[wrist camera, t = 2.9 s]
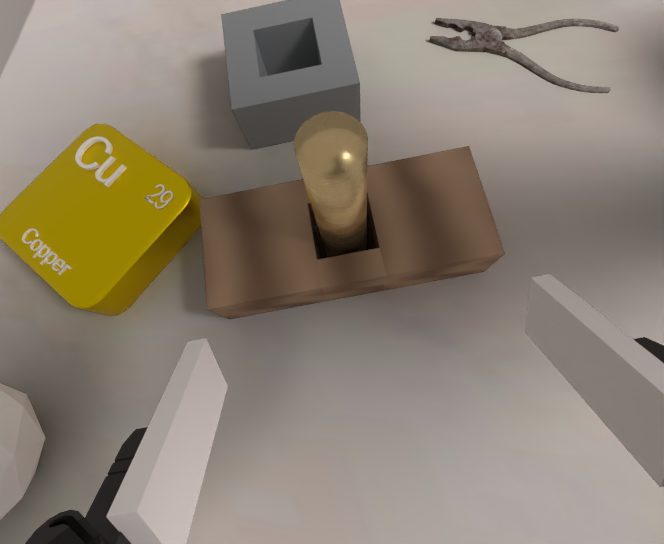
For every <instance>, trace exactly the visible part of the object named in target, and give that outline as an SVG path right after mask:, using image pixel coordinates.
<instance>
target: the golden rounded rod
mask: <svg viewBox="0 0 664 544" xmlns="http://www.w3.org/2000/svg"><path fill="white" fill-rule="evenodd" d="M294 150H295V154H296V157H297V161H298V164H299V167H300V170H301V174H302V177H303V180H304V183H305V186H306V190H307V193H308V196H309V199H310V203H311V206H312V209H313V212H314V215H315V219H316V222H317V225H318V228H319V232H320V235H321V238H322V241H323V244H324V248H325V251H326V254H327V256H328V257H334V256H339V255H344V254H350V253H355V252H360V251H365V250H366V232H367V155H368V138H367V133H366V130H365V128H364V127H363V125H362V124H361V123H360V122H359V121H358V120H357V119H356V118H355V117H353V116H351V115H349V114H347V113H343V112H338V111H329V112H323V113H320V114H317V115H315V116H313V117H311V118H309V119H308V120H307V121H305V122H304V123H303V124H302V126H301V127H300V128H299V130H298V131H297V133H296V136H295V140H294Z"/></svg>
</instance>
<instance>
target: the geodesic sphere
mask: <svg viewBox="0 0 664 544" xmlns="http://www.w3.org/2000/svg"><path fill="white" fill-rule="evenodd" d="M44 441H45V435H44V433H43V431H42V428H41V426H40V424H39V421H38V419H37V417H36V414H35V412H34V410H33V407H32V405H31V403H30V400H29V398H28V396H27V394H25V393H22V392H20V391H18V390H15V389H13V388H10V387H8V386H6V385H3V384H1V383H0V520H1V519H2V518H3V517H4V516H5V515H6V514H7V513H8V512H9V511H10V510H11V509H12V508H13V507H14V506H15V505H16V504H17V503H18V502H19V501H20V500H21V499H22V498H23V496H24V494H25V492H26V490H27V488H28V486H29V484H30V482H31V480H32V479H33V477H34V475H35V472H36V468H37V465H38V462H39V458H40V455H41V451H42V448H43V445H44Z"/></svg>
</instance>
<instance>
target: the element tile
mask: <svg viewBox="0 0 664 544" xmlns="http://www.w3.org/2000/svg"><path fill="white" fill-rule="evenodd" d="M201 199H203V198H202V197H201V196H200V195H199V194H198V193H197V192H196V190H195V189H194V188H193V187H192V186H191V185H190V184H189V183H188V182H187V181H186V180H185V179H184V178H183V177H181V176H180V175H179V174H177V173H176V172H174V171H173V170H172V169H170V168H169V167H167V166H166V165H165V164H163V163H162V162H160V161H159V160H158V159H156V158H155V157H154V156H152V155H151V154H149V153H148V152H147V151H145V150H144V149H142V148H141V147H140V146H138V145H137V144H135V143H134V142H133V141H131V140H130V139H129V138H127V137H126V136H124V135H123V134H122V133H120V132H119V131H117V130H116V129H115V128H113V127H111V126H109V125H106V124H95V125H93V126H91V127H90V128H88V129H86V130H85V131H84V132H83V133H82V134H81V135H80V136H79V137H78V138H77V139H76V140H75V141H74V142H73V143H72V144H71V145H70V146H69V147H67V148H66V149H65V150H64V151H63V152H62V153H61V154H60V155H59V156H58V157H57V158H56V159H55V160H54V161H53V162H52V163H51V164H50V165H49V166H48V167H47V168H46V169H45V170H44V171H43V172H42V173H41V174H40V175H39V176H38V177H37V178H36V179H35V180H34V181H33V182H32V183H31V184H30V185H29V186H28V187H27V188H26V189H25V190H24V191H22V192H21V193H20V194H19V195H18V196H17V197H16V198H15V199H14V200H13V201H12V202H11V203H10V204H9V205H8V206H7V207H6V208H5V209H4V210H3V211H2V213H1V214H0V239H1V240H2V241H3V242H4V243H5V244H7V245H8V246H9V247H10V248H11V249H12V250H13V251H14V252H15V253H16V254H17V255H18V256H19V257H20V258H21V259H22V260H24V261H25V262H26V263H27V264H28V265H29V266H30V267H31V268H32V269H33V270H34V271H35V272H36V273H37V274H38V275H39V276H40V277H42V278H43V279H44V280H45V281H46V282H47V283H48V284H49V285H50V286H51V287H52V288H53V289H54V290H55V291H56V292H57V293H59V294H60V295H61V296H62V297H63V298H64V299H65V300H66V301H67V302H68V303H69V304H70V305H72V306H74V307H75V308H79V309H83V310H87V311H91V312H95V313H100V314H104V315H108V316H114V315H119V314H120V313H122V312H124V311H126V310H127V309H128V308H129V307H130V306H131V305H132V304H133V303H134V302H135V300H136V299H137V298H138V297H139V296H140V295H141V294H142V292H143V291H144V290H145V289H146V288H147V287H148V286H149V285H150V283H151V282H152V281H153V280H154V279H155V278H156V277H157V276H158V274H159V273H160V272H161V271H162V270H163V269H164V268H165V266H166V265H167V264H168V263H169V262H170V261H171V260H172V259H173V257H174V256H175V255H176V254H177V253H178V252H179V251H180V249H181V248H182V247H183V246H184V245H185V244H186V243H187V242H188V240H189V239H190V238H191V237H192V236H193V235H194V234H195V233H196V231H197V230H198V229H199V228H200V227H201V214H200V200H201Z"/></svg>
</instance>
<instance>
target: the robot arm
mask: <svg viewBox="0 0 664 544" xmlns="http://www.w3.org/2000/svg"><path fill="white" fill-rule="evenodd" d="M525 333H526V334H527V335H528V336H529V337H530V338H531V340H532V341H533V342H534V343H535V344H536V345H537V347H538V348H539V349H540V350H541V351H542V352H543V353H544V355H545V356H546V357H547V358H548V359H549V360H550V361H551V363H552V364H553V365H554V366H555V367H556V368H557V369H558V371H559V372H560V373H561V374H562V375H563V376H564V378H565V379H566V380H567V381H568V382H569V383H570V384H571V386H572V387H573V388H574V389H575V390H576V391H577V392H578V394H579V395H580V396H581V397H582V398H583V399H584V400H585V402H586V403H587V404H588V405H589V406H590V407H591V409H592V410H593V411H594V412H595V413H596V414H597V415H598V417H599V418H600V419H601V420H602V421H603V422H604V423H605V425H606V426H607V427H608V428H609V429H610V430H611V431H612V433H613V434H614V435H615V436H616V437H617V438H618V440H619V441H620V442H621V443H622V444H623V445H624V446H625V448H626V449H627V450H628V451H629V452H630V453H631V454H632V456H633V457H634V458H635V459H636V460H637V461H638V462H639V464H640V465H641V466H642V467H643V468H644V469H645V471H646V472H647V473H648V474H649V475H650V476H651V477H652V479H653V480H654V481H655V482H656V483H657V484H658V485H659V487H663V486H664V346H663V345H661V344H659V343H656V342H654V341H652V340H650V339H647V338H645V337H643V338H637V339H632V338H631V337H630V336H628V335H627V334H626V333H625V332H623V331H622V330H621V329H619V328H618V327H617V326H616V325H614V324H613V323H612V322H611V321H609V320H608V319H607V318H606V317H604V316H603V315H602V314H600V313H599V312H598V311H597V310H595V309H594V308H593V307H592V306H590V305H589V304H588V303H586V302H585V301H584V300H583V299H581V298H580V297H579V296H578V295H576V294H575V293H574V292H573V291H571V290H570V289H569V288H567V287H566V286H565V285H564V284H562V283H561V282H560V281H559V280H557V279H556V278H555V277H553V276H552V275H551V274H546V275H541V276H535V277H530V287H529V298H528V309H527V320H526V330H525ZM227 388H228V386H227V384H226V382H225V379H224V377H223V375H222V373H221V370H220V368H219V366H218V364H217V361H216V359H215V357H214V355H213V352H212V350H211V348H210V346H209V343H208V341H207V339H206V338H204V339H198V340H193V341H188V342H187V344H186V346H185V349H184V351H183V353H182V355H181V357H180V359H179V361H178V364H177V366H176V368H175V370H174V372H173V374H172V376H171V379H170V381H169V383H168V385H167V387H166V389H165V391H164V394H163V396H162V398H161V400H160V402H159V404H158V406H157V409H156V411H155V413H154V415H153V417H152V419H151V421H150V424H149V426H148V427H146V428H141V429H136V430H135V431H134V432H133V433H132V434H131V435H130V437H129V438H128V439H127V440H126V441H125V442H124V443H123V445H122V447H121V449H120V451H119V453H118V455H117V456H116V458H115V463H113V464H112V466H111V468H110V470H109V472H108V476H107V477H106V478H105V480H104V482H103V484H102V486H101V488H100V490H99V492H98V494H97V495H96V497H95V499H94V501H93V503H92V505H91V507H90V509H89V511H88V513H87V515H86V517H85V518H84V517H83V516H82V515H81V514H80V513H79V511H74V510H68V511H65V512H61V513H59V514H57V515H55V516H54V517H52V518H50V519H48V520H47V521H46V522H45V523H44V524H43V525H41V526H40V527H39V528H38V529H37V530H36V531H35V532H34V533H33V535H32V536H31V537H30V538H29V539H28V541H27V542H26V544H186V542H187V539H188V535H189V531H190V527H191V524H192V520H193V516H194V512H195V508H196V505H197V501H198V497H199V493H200V490H201V486H202V482H203V478H204V475H205V471H206V467H207V463H208V459H209V456H210V452H211V448H212V444H213V441H214V437H215V433H216V429H217V425H218V422H219V418H220V414H221V410H222V407H223V403H224V399H225V395H226V391H227Z"/></svg>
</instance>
